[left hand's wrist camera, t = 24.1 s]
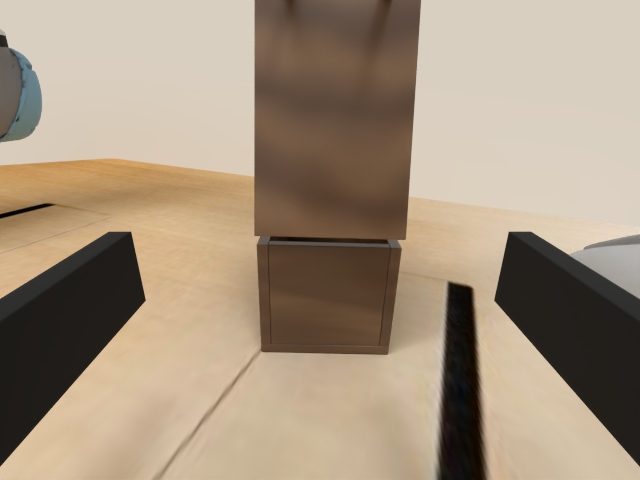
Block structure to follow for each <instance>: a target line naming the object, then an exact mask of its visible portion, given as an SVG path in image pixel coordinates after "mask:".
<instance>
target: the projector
mask: <svg viewBox="0 0 640 480" xmlns="http://www.w3.org/2000/svg"><path fill="white" fill-rule="evenodd" d="M569 256H571V257H573V258H574V259H576V260H578V261H579V262H581V263H582V264H584V265H586V266H587V267H589V268H590V269H592V270H594V271H595V272H597V273H599V274H600V275H602V276H603V277H605V278H607V279H608V280H610V281H612V282H613V283H615V284H616V285H618V286H620V287H621V288H623V289H624V290H626V291H628V292H629V293H631V294H633V295H634V296H636V297H637V298H639V299H640V234H639V235H633V236H628V237H623V238H618V239H613V240H609V241H604V242H600V243H595V244H592V245H589V246H586V247H585V248H584V249H583V250H581V251H577V252H574V253H572V254H570V255H569Z"/></svg>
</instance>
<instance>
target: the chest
mask: <svg viewBox="0 0 640 480" xmlns="http://www.w3.org/2000/svg"><path fill="white" fill-rule="evenodd" d="M401 250H402V248H401V246H400V244H399V243H398V241H397V240H392V239H354V238H316V237H278V236H260V238H259V241H258V243H257V261H258V283H259V305H260V328H261V348H262V351H270V352H315V353H360V354H388V349H389V341H390V334H391V326H392V319H393V311H394V303H395V296H396V288H397V281H398V273H399V265H400V258H401Z"/></svg>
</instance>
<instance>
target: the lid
mask: <svg viewBox="0 0 640 480" xmlns="http://www.w3.org/2000/svg"><path fill="white" fill-rule="evenodd" d="M420 8H421V0H255V236H278V237H316V238H354V239H392V240H405V239H406V227H407V211H408V195H409V180H410V164H411V148H412V133H413V117H414V102H415V86H416V70H417V55H418V39H419V23H420Z"/></svg>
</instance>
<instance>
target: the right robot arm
mask: <svg viewBox="0 0 640 480" xmlns="http://www.w3.org/2000/svg"><path fill="white" fill-rule="evenodd" d="M41 111H42V97H41V89H40V84H39V81H38V78H37V75H36V73H35V72H34V71H33V70H32V65H31V64H30V62H29V61H28V59H27V58H26V57H25V56H24V55H22V54H21V53H19V52H17V51H15V50H14V49H11V48H8V44H7V40H6V36H5V33H4V32H3V31H2V30H1V29H0V142H6V141H14V140H20V139H24V138H26V137H28V136H29V135H30V134H32V132H33V131H34V130H35V127H36V126H37V125H38V123H39V120H40V117H41Z"/></svg>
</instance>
